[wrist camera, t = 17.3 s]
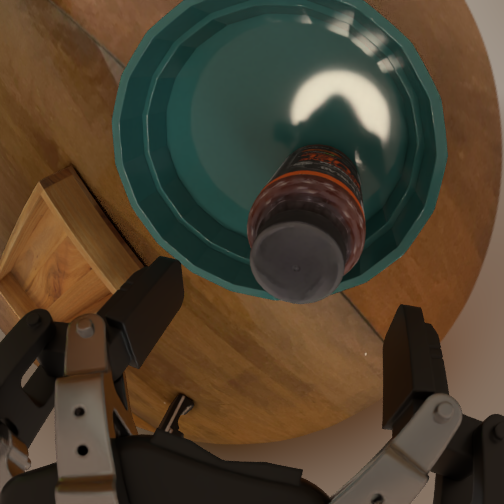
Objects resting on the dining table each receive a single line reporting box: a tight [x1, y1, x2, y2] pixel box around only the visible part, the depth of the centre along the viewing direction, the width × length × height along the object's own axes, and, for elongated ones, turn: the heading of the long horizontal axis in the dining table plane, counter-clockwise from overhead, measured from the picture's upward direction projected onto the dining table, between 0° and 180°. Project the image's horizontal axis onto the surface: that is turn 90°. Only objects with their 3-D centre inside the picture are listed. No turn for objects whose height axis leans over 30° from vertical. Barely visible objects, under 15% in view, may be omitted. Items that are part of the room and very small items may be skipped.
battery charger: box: [158, 394, 194, 438], centre depth 42 cm, size 7×4×11 cm, turn 153°
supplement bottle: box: [247, 145, 366, 304], centre depth 17 cm, size 6×6×11 cm
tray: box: [0, 166, 144, 323], centre depth 35 cm, size 31×15×6 cm, turn 125°
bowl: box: [112, 0, 448, 300], centre depth 19 cm, size 20×20×6 cm
